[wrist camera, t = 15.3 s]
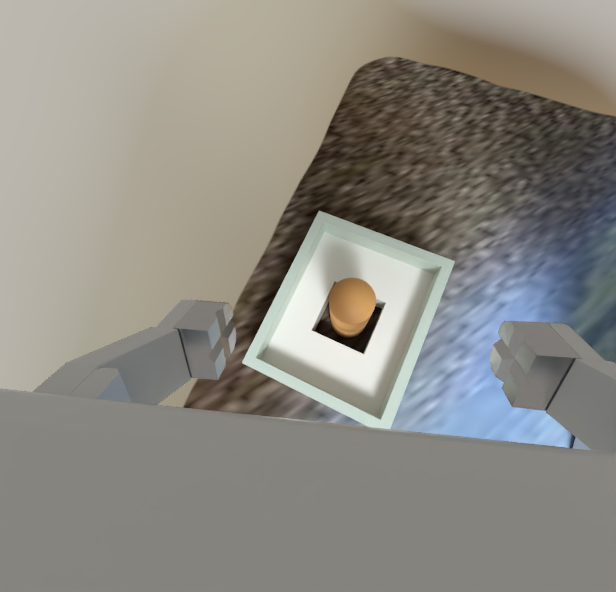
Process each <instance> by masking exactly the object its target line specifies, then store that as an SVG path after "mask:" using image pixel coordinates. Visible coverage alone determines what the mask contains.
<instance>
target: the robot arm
mask: <svg viewBox="0 0 616 592" xmlns="http://www.w3.org/2000/svg"><path fill="white" fill-rule="evenodd" d="M232 316H233V310H232V306H231V305H230V303H225V302H213V301H201V300H200V301H198V300H181V301H180V302H179V303H178V304H177V305H176V307H175V308H174V309H173V310H172V311H171V312H170V313H169V314H168V315H167V316H166V317H165V318H164V319H163V320H162V321H161V322H160V323H159V325H158V326H157V327H150V328H148V329H145V330H143V331H140V332H138V333H136V334H133V335H131V336H129V337H126V338H124V339H121V340H119V341H117V342H115V343H112V344H110V345H107V346H105V347H103V348H100V349H98V350H95V351H93V352H91V353H88V354H86V355H84V356H81V357H79V358H77V359H74V360H72V361H70V362H67V363H65V364H64V365H63V366H62V367H61V368H60V369H58V370H57V371H56V372H55V373H54V374H53V375H51V377H49V378H48V379H47V380H46V381H45V382H43V383H42V384H41V385H40V386H39V387H37V388H36V389H35V390H34V391H33V392H27V391H17V390H8V389H0V592H616V363H614V362H612V361H605V360H604V359H603V358H602V357H601V356H600V355H599V354H598V353H597V352H596V351H595V350H594V349H593V348H592V347H590V346H589V345H588V344H587V343H586V342H585V341H584V340H583V339H582V338H581V337H580V336H579V335H578V334H577V333H576V332H575V331H574V330H573V329H572V328H571V327H570V326H569V325H567V324H564V323H549V322H519V321H504V322H503V323H502V324H501V326H500V328H499V331H498V334H499V336H500V338H501V340H499V341H498V342H496V343H495V344H494V345H493V347H492V350H491V353H490V364H491V368H492V371H493V373H494V375H495V376H496V377H497V378H498V379H500V380H501V381H503V382H504V384H503V386H502V390H503V391H504V393H505V395H506V397H507V399H508V400H509V402H510V404H511V406H512V407H518V408H527V409H535V410H544V411H546V413H547V414H549V415H550V416H551V417H552V418H554V419H555V420H556V421H557V422H558V423H560V424H561V425H562V426H563V427H564V428H566V429H567V430H568V431H569V432H570V433H572V434H573V435H574V436H575V441H574V445H573V448H565V447H555V446H546V445H536V444H527V443H517V442H508V441H498V440H489V439H479V438H470V437H460V436H451V435H441V434H432V433H422V432H412V431H403V430H393V429H383V428H373V427H364V426H354V425H344V424H334V423H325V422H315V421H305V420H295V419H286V418H276V417H267V416H257V415H248V414H238V413H228V412H219V411H209V410H200V409H190V408H180V407H171V406H161V405H157V404H159V403H160V402H161V401H163V400H164V399H165V398H167V397H168V396H169V395H170V394H172V393H173V392H174V391H176V390H177V389H179V388H180V387H181V386H183V385H184V384H185V383H187V382H188V381H189V380H191V378H200V379H216V380H218V379H219V377H220V375H221V373H222V371H223V369H224V367H225V365H226V362H225V358H226V357H228V356H229V355H231V353H232V351H233V349H234V346H235V341H236V329H235V326H234V324H233V323H232V322H231V321H230V320H231V318H232Z"/></svg>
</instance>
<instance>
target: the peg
mask: <svg viewBox="0 0 616 592" xmlns="http://www.w3.org/2000/svg"><path fill="white" fill-rule="evenodd" d="M375 306H376V296H375V292H374V290H373V289H372V287H371V286H370V285H369V284H368V283H367V282H365V281H364V280H362V279H359V278H345V279H343V280H341V281H339V282H337V283H336V284H335V285H334V286H333V288H332V289H331V291H330V294H329V308H330V318H331V325H332V328H333V330H334V331H335V333H336V334H338V335H339V336H341V337H343V338H354V337H356V336H358V335H359V334H361V333H362V331H363V330H364V328H365V326H366V324H367V322H368V320H369V319H370V317H371V315H372V313H373V311H374V309H375Z"/></svg>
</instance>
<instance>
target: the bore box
mask: <svg viewBox="0 0 616 592" xmlns="http://www.w3.org/2000/svg"><path fill="white" fill-rule="evenodd" d="M454 263H455V261H452V260H450V259H447V258H444V257H442V256H439V255H436V254H434V253H431V252H428V251H426V250H423V249H420V248H418V247H415V246H412V245H410V244H407V243H404V242H402V241H399V240H396V239H394V238H391V237H388V236H386V235H383V234H380V233H378V232H375V231H372V230H370V229H367V228H364V227H362V226H359V225H356V224H354V223H351V222H348V221H346V220H343V219H340V218H338V217H335V216H332V215H330V214H327V213H324V212H322V211H319V212H318V214H317V216H316V218H315V220H314V222H313V224H312V226H311V228H310V229H309V231H308V233H307V235H306V237H305V239H304V241H303V243H302V245H301V247H300V249H299V251H298V253H297V255H296V257H295V259H294V261H293V263H292V265H291V267H290V269H289V271H288V273H287V275H286V277H285V279H284V281H283V283H282V285H281V287H280V289H279V291H278V293H277V295H276V297H275V299H274V301H273V303H272V305H271V306H270V308H269V310H268V312H267V314H266V316H265V318H264V320H263V322H262V324H261V326H260V328H259V330H258V332H257V334H256V336H255V338H254V340H253V342H252V344H251V346H250V348H249V350H248V352H247V354H246V356H245V358H244V360H243V362H242V363H243V364H245V365H247V366H249V367H251V368H253V369H255V370H257V371H259V372H261V373H263V374H265V375H267V376H269V377H271V378H273V379H275V380H277V381H279V382H281V383H283V384H285V385H287V386H289V387H291V388H293V389H295V390H297V391H299V392H301V393H303V394H305V395H307V396H309V397H311V398H313V399H315V400H317V401H319V402H321V403H323V404H325V405H327V406H329V407H331V408H333V409H335V410H337V411H338V412H340V413H342V414H344V415H346V416H348V417H350V418H352V419H354V420H356V421H358V422H360V423H362V424H364V425H366V426H368V427H373V428H383V429H390V428H391V425H392V423H393V420H394V417H395V415H396V412H397V410H398V407H399V404H400V402H401V399H402V397H403V394H404V392H405V389H406V386H407V384H408V381H409V379H410V376H411V373H412V371H413V368H414V366H415V363H416V361H417V358H418V355H419V353H420V350H421V348H422V345H423V343H424V340H425V337H426V335H427V332H428V330H429V327H430V324H431V322H432V319H433V317H434V314H435V312H436V309H437V306H438V304H439V301H440V299H441V296H442V294H443V291H444V288H445V286H446V283H447V281H448V278H449V275H450V273H451V270H452V268H453V265H454ZM345 278H359V279H362V280H364V281H365V282H367V283H368V284H369V285H370V286H371V287H372V289H373V290H374V292H375V296H376V306H377V307H379V308H381V309H382V310H381V312H380V315H379V317H378V319H377V322H376V324H375V326H374V329H373V331H372V334H371V336H370V338H369V341H368V343H367V345H366V348H365V350H364V352H363V354H362V353H360V352H358V351H356V350H353V349H351V348H349V347H347V346H345V345H343V344H340V343H338V342H336V341H334V340H332V339H329V338H327V337H325V336H323V335H321V334H319V333H316V332H315V330H316V328H317V326H318V324H319V321H320V319H321V317H322V315H323V313H324V311H325V309H326V306H327V304H328V302H329V294H330V291H331V289H332V288H333V286H334V285H335V284H336V283H337V282H339V281H341V280H343V279H345Z"/></svg>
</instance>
